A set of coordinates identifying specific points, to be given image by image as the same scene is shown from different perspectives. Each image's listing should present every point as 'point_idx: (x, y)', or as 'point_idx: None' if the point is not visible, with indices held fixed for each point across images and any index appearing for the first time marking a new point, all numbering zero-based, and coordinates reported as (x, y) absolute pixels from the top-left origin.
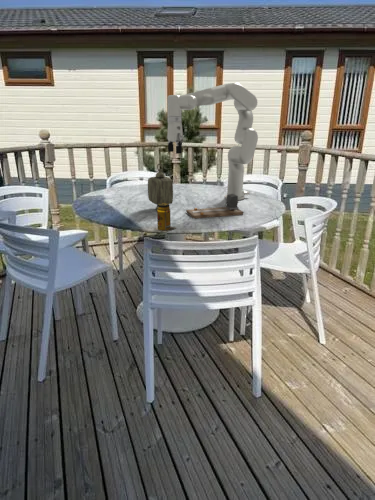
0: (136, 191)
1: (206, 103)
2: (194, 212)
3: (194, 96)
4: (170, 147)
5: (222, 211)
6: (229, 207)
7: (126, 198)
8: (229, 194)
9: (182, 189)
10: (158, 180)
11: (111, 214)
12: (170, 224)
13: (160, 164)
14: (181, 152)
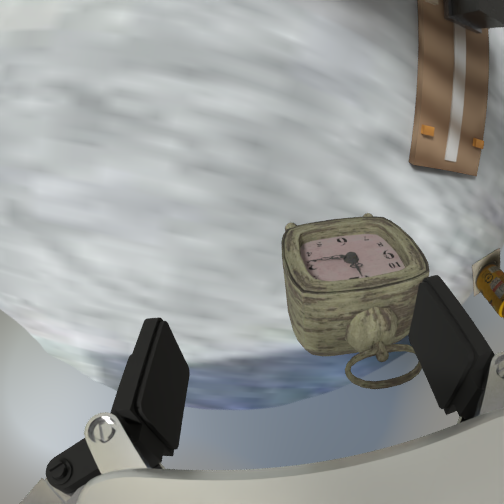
0: (28, 256)
1: None
2: (456, 156)
3: None
4: (172, 401)
5: (472, 56)
6: (477, 29)
7: (127, 308)
8: (479, 1)
9: (6, 70)
10: (408, 333)
11: (318, 365)
12: (501, 270)
13: (406, 381)
14: (440, 280)
